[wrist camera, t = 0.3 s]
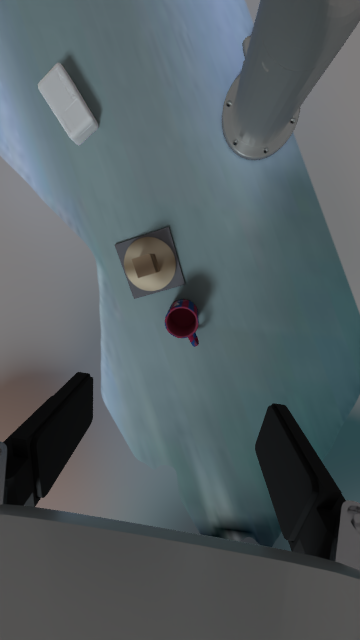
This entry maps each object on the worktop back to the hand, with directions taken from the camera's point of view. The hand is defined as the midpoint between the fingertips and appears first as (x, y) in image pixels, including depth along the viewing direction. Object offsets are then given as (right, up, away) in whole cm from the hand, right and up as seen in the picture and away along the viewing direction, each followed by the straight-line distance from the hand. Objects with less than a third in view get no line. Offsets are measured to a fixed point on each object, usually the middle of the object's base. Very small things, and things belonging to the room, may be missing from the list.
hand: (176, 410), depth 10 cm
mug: (+2, +5, +36) cm, 36 cm away
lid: (-6, +17, +32) cm, 36 cm away
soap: (-19, +42, +25) cm, 53 cm away
